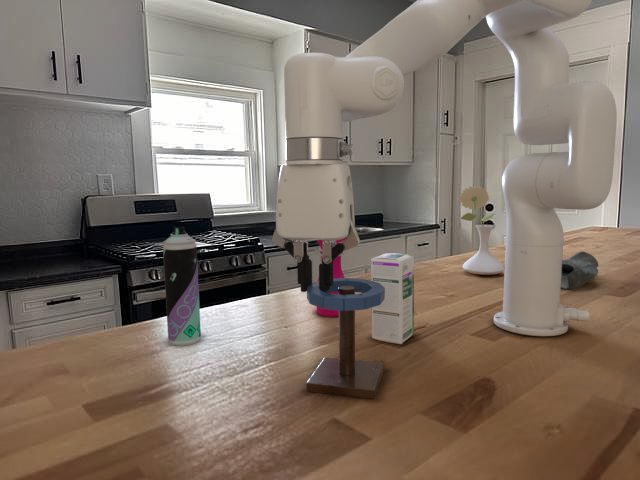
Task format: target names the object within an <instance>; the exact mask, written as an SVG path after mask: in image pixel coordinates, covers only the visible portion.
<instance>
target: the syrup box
mask: <svg viewBox="0 0 640 480" xmlns="http://www.w3.org/2000/svg"><path fill="white" fill-rule="evenodd" d="M370 281H374V282H378V283H380V284H381V285H382V286H383V287H385V299H384V301H383V302H382V303H381V304H380V305H378V306H375V307H372V308H370V309H371V310H370V311H371V338H372V339H373V340H376V341H381V342H386V343H390V344H398V345H403V344H404V343H405V342H406V341H407V340H408V339H409V338H411V337H412V336H414V334H415V256H414V255H413V254H409V253H408V254H407V253H397V252H394V253H391V252H389V253H386V252H385V253H383V254H381V255H378V256H375V257H371V258H370Z"/></svg>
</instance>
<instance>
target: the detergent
mask: <svg viewBox="0 0 640 480" xmlns="http://www.w3.org/2000/svg"><path fill="white" fill-rule="evenodd" d="M598 267H599V262H598V260H597V258H596V257H594V255H592V254H591V253H589V252H586V251H579V252H576V253H574V254H573V255H571V256H570V257H568V258H567V259H562V273H561V289H564V290H567V289H568V290H569V289H574V288H578V287H581V286H583V285H585V284H586V283H588V282H589V281H590V280H591V279H593V278H594V277H596V276H598V274H599V269H598Z"/></svg>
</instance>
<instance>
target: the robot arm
mask: <svg viewBox="0 0 640 480" xmlns="http://www.w3.org/2000/svg"><path fill="white" fill-rule="evenodd" d="M592 1H593V0H416V1H414V2H413V3H412V4H410V6H408V7H406V8H405V10H403V11H402V12H400V13H399V14H397V16H395V17H394V18H393V19H391V20H390V21H389V22H387V24H385V26H382V27H381V28H380V29H379V30H378V31H376V32H375V33H374V34H373V35H371V36H370V37H369V38H367V39H366V40H365V41H363V42H362V43H361V44H360V45H358V46H357V47H356V48H355V49H353V50H351V52H349V53H348V54H347V55H346V56H334V55H333V54H329V53H325V52H311V51H310V52H301V53H298V54H295V55H292V56H291V57H289V58H288V59H287V60H286V61H285V63H284V68H283V72H284V73H283V84H284V85H283V88H284V127H285V128H284V129H285V130H284V131H285V134H284V135H285V164H281V166H280V171H279V177H278V183H277V190H276V191H277V192H276V202H275V204H276V205H275V229H274V232H273V235H272V236H271V243H272V244H274V245H275V246H277V247H279V248H282V249H285V251H286V252H287V253H288V254H289V255H290V256H291V257H292V258H293V260H294V262H295V263H296V265H297V266H296V267H297V268H296V271H297V272H296V273H297V285H300V292H301V293H305V292H306V293H307V287H308V286H309V285H311V284H312V283H313V261H312V259H310V256H309V241H317V240H322V244H323V258H322V260H321V263H319V265H318V277H319V289H320V290H321V291H323V292H327V291H328V290H329V288H330V286H332V285H333V261H334V260H335V259H336V258H337V257H338V256H339V255H340V254H341V253H342V252H343V253H344V252H345V251H348V250H350V249H353V248H355V247H358V246H359V245H360V244H361V239H360V237H359V234H358V231H357V229H356V227H355V225H356V222H355V221H356V219H355V202H354V188H353V181H352V174H351V173H352V172H351V169H350V165H349V164H345V163H343V162H344V160H345V158H346V157H348V156H349V155H350V156H352V155H354V149H355V148H354V144H352V143H347V142H345V140H344V139H343V123H347V122H351V121H356V120H360V119H367V118H372V117H377V116H380V115H383V114H387V113H389V112H390V111H391V110H393V109H394V108H395V107H396V106H397V105H398V104H399V103H400V102H401V99H402V98H403V95H404V91H405V79H404V77H405V76H406V75H409V74H411V73H413V72H415V71H418V70H420V69H423V68H425V67H426V66H429V65H430V64H433V63H434V62H436V61H437V60H439V59H441V58H442V57H443V56H444V55H446V54H447V53H448V52H449V51H450V50H451V49H452V48H454V46H456V45H457V44H458V43H459V42H460V41H461V40H462V39H463V38H464V37H465V36H466V35H467V34H468V33H469V32H470V31H471V30H472V29H473V28H474V27H476V26H477V25H478V24H479V23H480V22H481V21H482V20H483V19H484V18H485V20H486V22H487V26H488V27H489V29H490V31H491V32H492V33H493V34H494V35H495V36H496V37H497V39H498V40H499V41H500V42H501V43H502V44H503V45H504V47H505V48H506V50H507V51H508V53H509V55H510V56H511V59H512V61H513V67H514V97H513V131H514V135H515V137H516V139H517V140H518V141H519V142H520V143H522V144H524V145H528V146H548V145H549V146H550V145H561V144H563V145H564V144H568V151H552V152H551V151H550V152H549V151H548V152H534V153H526V154H523V155H520V156H518V157H515V158H513V159H512V160H511V161H510V162H509V163H508V164H507V165H506V166H505V168H504V169H503V172H502V177H501V187H502V194H503V200H504V206H505V248H504V249H505V252H504V268H505V269H504V271H503V272H504V273H503V275H504V276H503V278H504V279H503V297H502V298H503V299H502V311H498V312H496V313H495V314H494V315H493V323H494V325H495V326H497V327H498V328H500V329H502V330H503V331H507V332H510V333H514V334H518V335H524V336H532V337H554V336H555V337H557V336H561V335H564V334H565V333H567V332H568V330H569V322H570V321H577V322H589V321H590V311H589V310H583V309H578V308H577V307H565V306H564V305H563V304H562V303H561V289H562V288H561V273H562V260H563V254H564V253H563V252H564V240H565V236H564V235H565V233H564V228H563V225H562V222H561V219H560V217H559V215H558V214H557V212H556V210H555V209H558V210H559V209H560V210H561V209H562V210H581V211H582V210H585V211H586V210H593V209H595V208H598V207H600V206H601V205H603V203H604V202H605V201H606V200H607V198H608V196H609V195H610V194H609V193H610V191H611V188H612V184H613V176H614V166H615V151H616V150H615V149H616V136H617V135H616V134H617V117H618V116H617V115H618V113H617V104H616V100H615V97H614V94H613V92H612V91H611V89H610V88H609V87H608V86H607V85H606V84H605V83H603V82H601V81H598V80H583V81H577V82H572V83H570V55H569V51H568V49H567V47H566V46H565V44H564V42H563V41H562V40H561V39H560V37H559V36H557V34H556V33H554V32H553V31H552V30H551V29H550V28H549V27H552V26H556V25H559V24H562V23H565V22H569V21H571V20H573V19H575V18H577V17H579V16H580V15H582V14H583V13H584V12H585V11H586V10H587V9H588V8H589V7H590V5H591V3H592ZM344 238H346V240H345V241H342V242H340V243H338V244H336V240H341V239H344Z"/></svg>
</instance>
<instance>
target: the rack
mask: <svg viewBox="0 0 640 480" xmlns="http://www.w3.org/2000/svg"><path fill="white" fill-rule="evenodd" d="M352 294H356V292H355V287H352V286H341V287H339V295H352ZM384 372H385V363H384V362H378V361H377V362H376V361H365V360H356V310H351V311H339V316H338V358H334V357H323V359H322V360H321V361H320V363H319V365H318V366H317V367H316V369H315V370H314V372H313V373H312V375H311V376H310V377H309V378H308V380H307V382H306V392H311V393H319V394H328V395H336V396H344V397H351V398H352V397H353V398H362V399H370V400H375V399H376V395H377V393H378V389H379V386H380V384H381V380H382V378H383V374H384Z"/></svg>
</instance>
